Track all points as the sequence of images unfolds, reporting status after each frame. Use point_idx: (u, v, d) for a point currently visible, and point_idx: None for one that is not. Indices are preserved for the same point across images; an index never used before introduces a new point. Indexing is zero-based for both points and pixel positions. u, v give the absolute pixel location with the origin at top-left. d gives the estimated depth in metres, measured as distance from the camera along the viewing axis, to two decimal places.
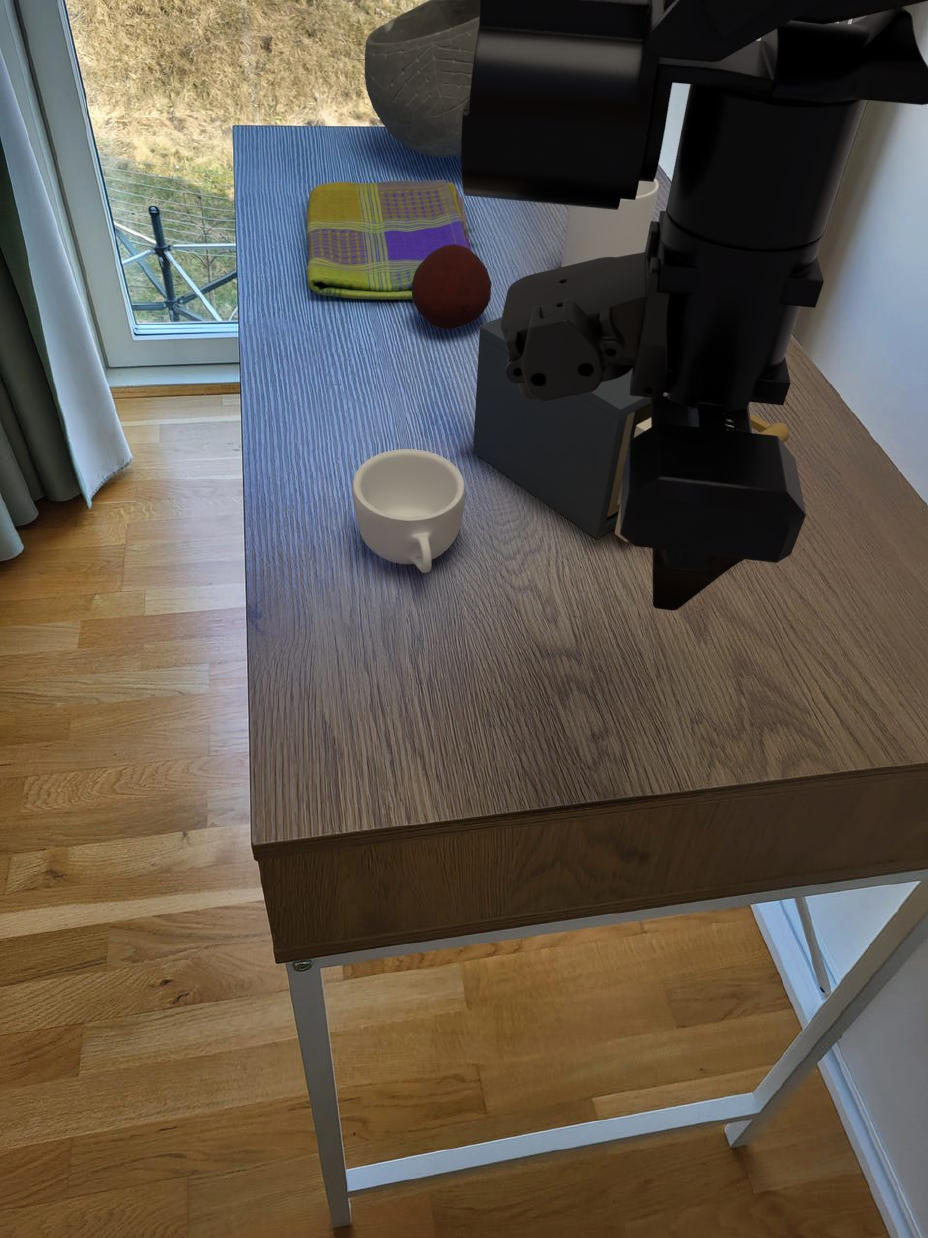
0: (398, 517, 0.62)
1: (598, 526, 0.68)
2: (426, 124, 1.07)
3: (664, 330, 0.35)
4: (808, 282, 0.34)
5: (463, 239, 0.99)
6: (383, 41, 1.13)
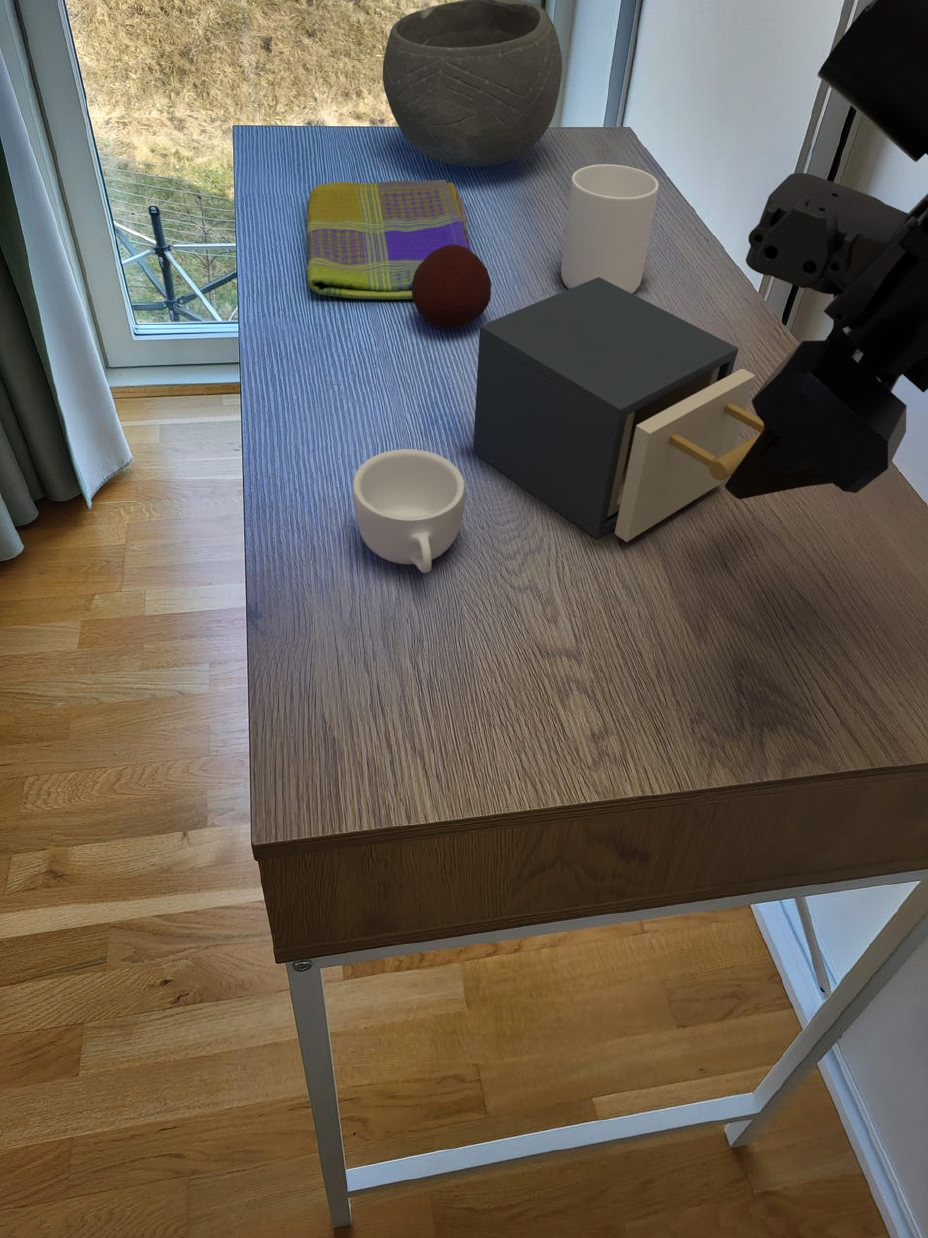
0: (398, 517, 0.62)
1: (598, 526, 0.68)
2: (422, 129, 1.08)
3: (883, 276, 0.42)
4: None
5: (463, 239, 0.99)
6: (416, 27, 1.13)
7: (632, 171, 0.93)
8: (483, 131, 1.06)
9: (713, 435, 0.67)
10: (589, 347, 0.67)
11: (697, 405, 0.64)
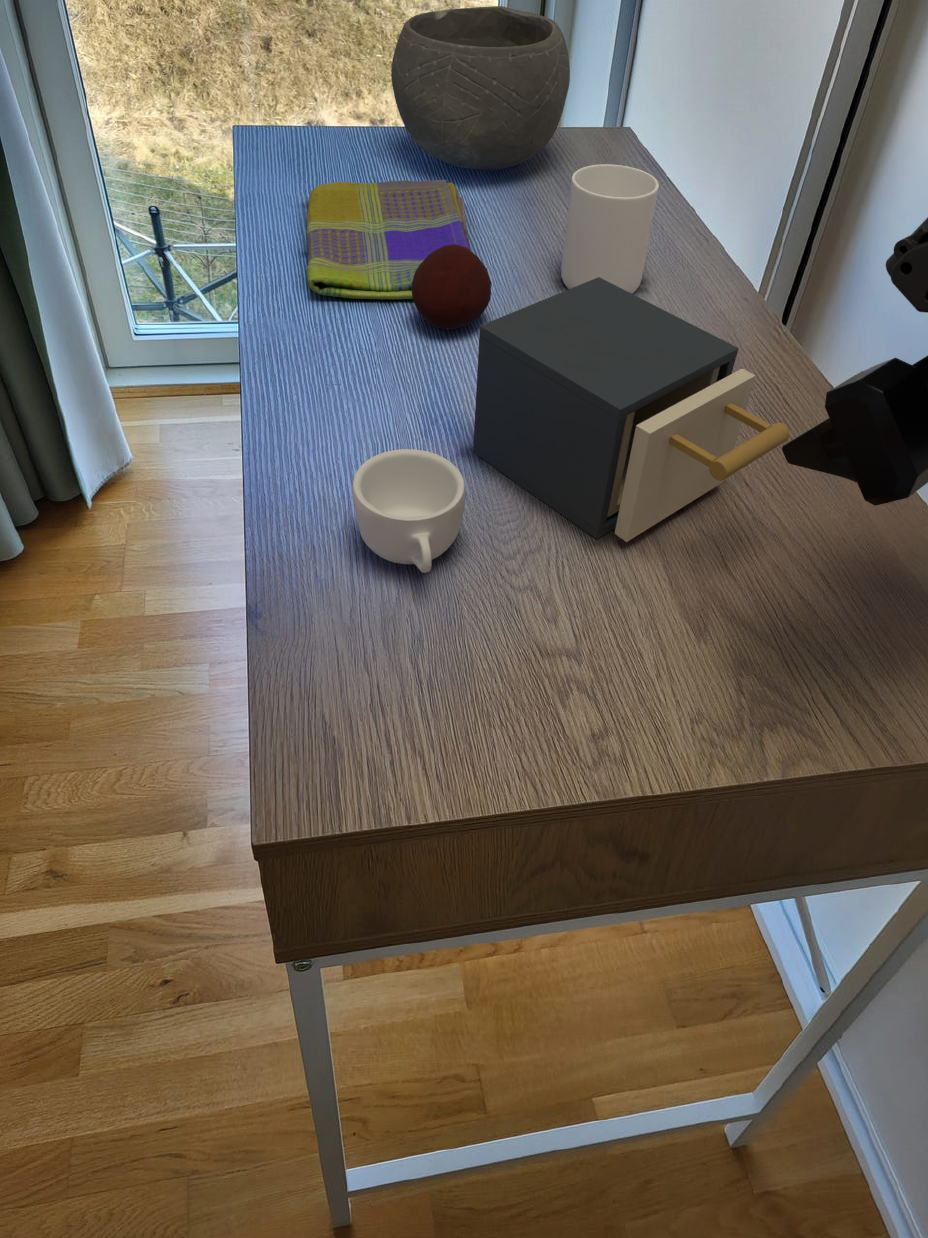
0: (398, 517, 0.62)
1: (598, 526, 0.68)
2: (425, 124, 1.08)
3: None
4: None
5: (463, 239, 0.99)
6: (429, 26, 1.13)
7: (632, 171, 0.93)
8: (486, 131, 1.07)
9: (713, 435, 0.67)
10: (589, 347, 0.67)
11: (697, 405, 0.64)
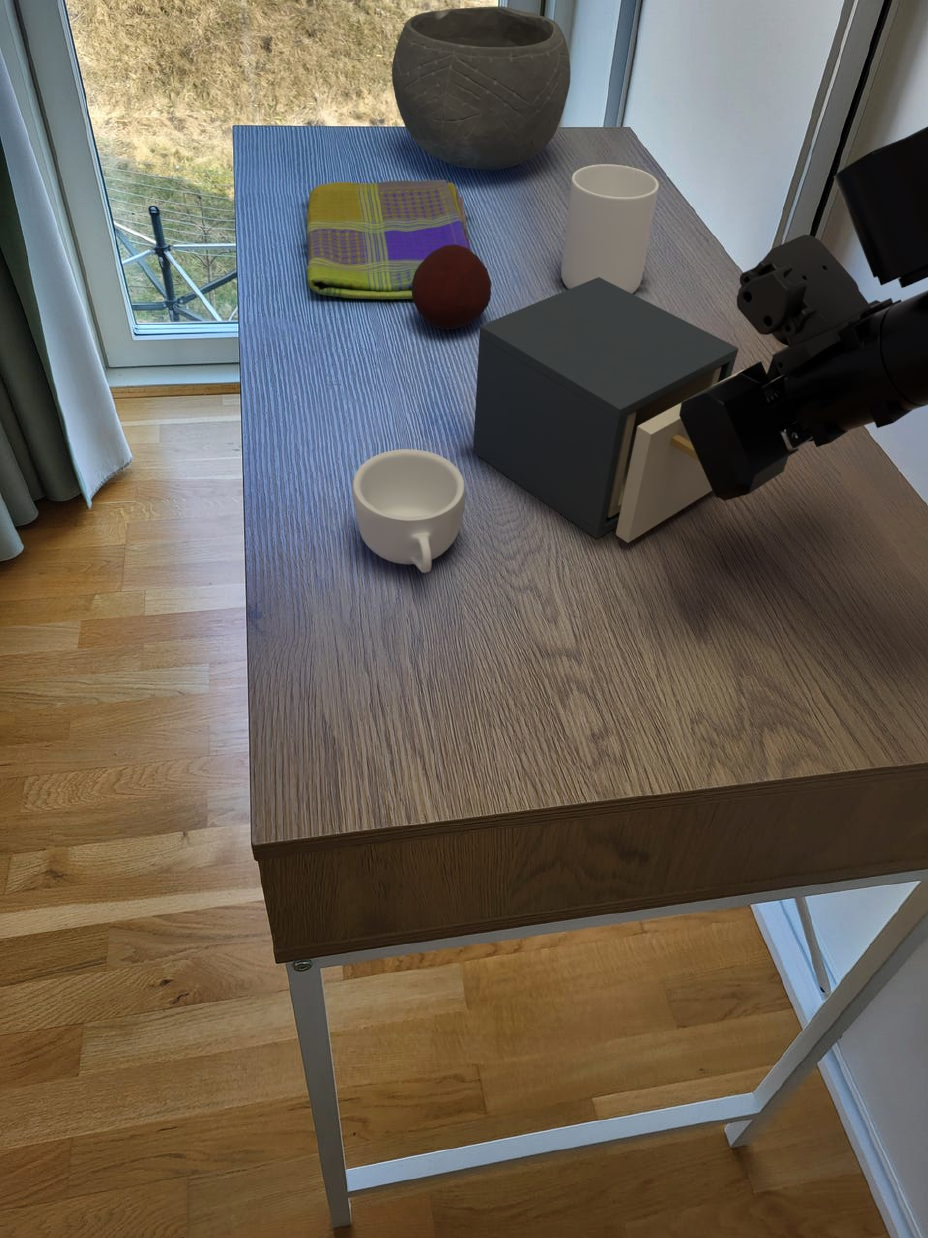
0: (398, 517, 0.62)
1: (598, 526, 0.68)
2: (426, 123, 1.08)
3: (818, 351, 0.53)
4: (887, 415, 0.52)
5: (463, 239, 0.99)
6: (429, 26, 1.13)
7: (632, 171, 0.93)
8: (486, 132, 1.07)
9: None
10: (589, 347, 0.67)
11: None
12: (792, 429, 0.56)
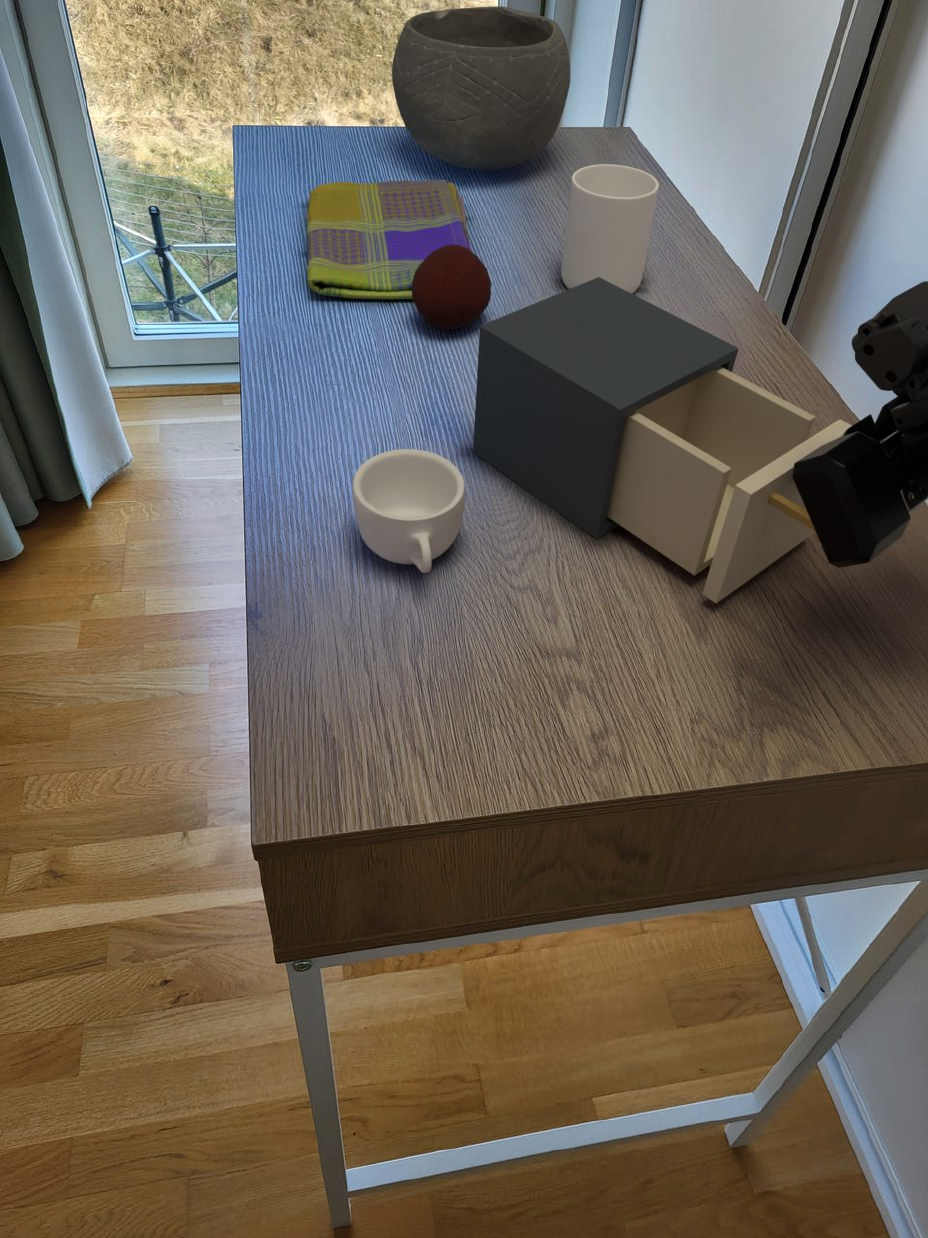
0: (398, 517, 0.62)
1: (598, 526, 0.68)
2: (426, 123, 1.08)
3: None
4: None
5: (463, 239, 0.99)
6: (429, 26, 1.13)
7: (632, 171, 0.93)
8: (486, 132, 1.07)
9: None
10: (589, 347, 0.67)
11: None
12: (908, 489, 0.52)
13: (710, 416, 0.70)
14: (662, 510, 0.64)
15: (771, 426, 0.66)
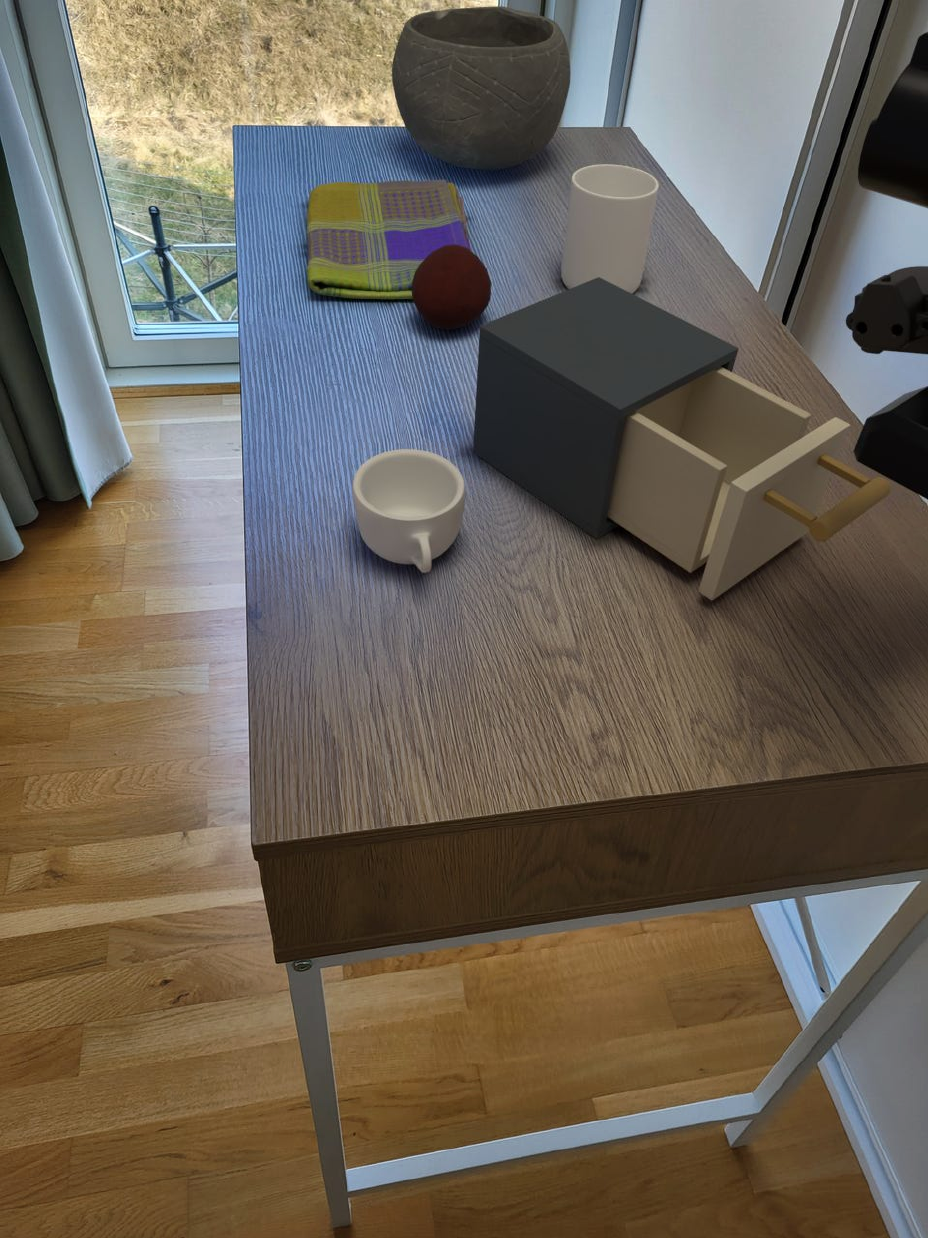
0: (398, 517, 0.62)
1: (598, 526, 0.68)
2: (426, 123, 1.08)
3: None
4: None
5: (463, 239, 0.99)
6: (429, 26, 1.13)
7: (632, 171, 0.93)
8: (486, 132, 1.07)
9: (804, 488, 0.64)
10: (589, 347, 0.67)
11: (793, 459, 0.60)
12: None
13: (706, 414, 0.70)
14: (659, 508, 0.65)
15: (767, 424, 0.66)
